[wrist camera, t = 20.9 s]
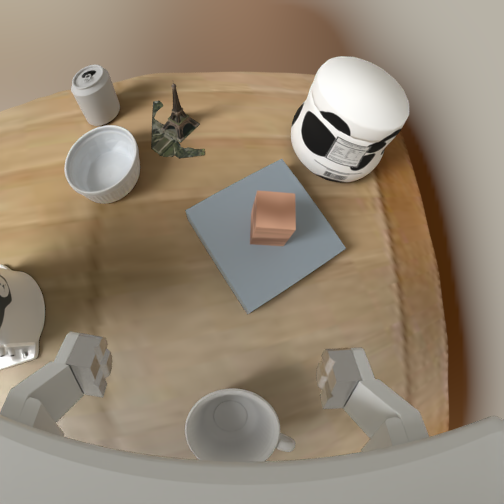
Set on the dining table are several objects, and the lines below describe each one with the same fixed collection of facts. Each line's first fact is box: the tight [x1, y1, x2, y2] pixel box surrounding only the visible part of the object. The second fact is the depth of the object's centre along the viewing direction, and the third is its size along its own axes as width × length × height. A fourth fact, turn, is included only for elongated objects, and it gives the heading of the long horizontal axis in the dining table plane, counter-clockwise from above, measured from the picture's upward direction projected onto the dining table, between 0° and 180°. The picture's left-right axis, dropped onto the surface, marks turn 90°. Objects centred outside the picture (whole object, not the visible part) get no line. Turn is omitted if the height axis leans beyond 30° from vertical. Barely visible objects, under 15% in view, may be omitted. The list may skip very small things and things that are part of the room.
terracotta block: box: [250, 190, 296, 246], centre depth 44 cm, size 5×5×8 cm
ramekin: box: [65, 125, 140, 204], centre depth 48 cm, size 13×13×7 cm
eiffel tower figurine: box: [151, 83, 205, 158], centre depth 49 cm, size 15×10×13 cm
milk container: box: [291, 56, 409, 182], centre depth 49 cm, size 17×17×18 cm
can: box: [71, 65, 120, 126], centre depth 49 cm, size 8×8×12 cm
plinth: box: [185, 159, 346, 314], centre depth 50 cm, size 18×18×4 cm
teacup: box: [185, 388, 296, 462], centre depth 39 cm, size 12×15×10 cm
